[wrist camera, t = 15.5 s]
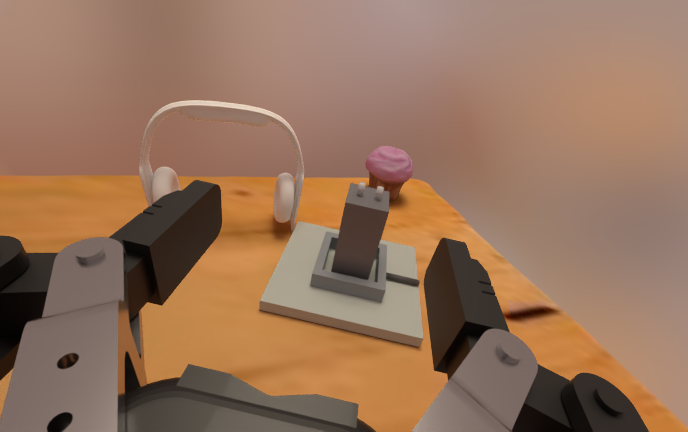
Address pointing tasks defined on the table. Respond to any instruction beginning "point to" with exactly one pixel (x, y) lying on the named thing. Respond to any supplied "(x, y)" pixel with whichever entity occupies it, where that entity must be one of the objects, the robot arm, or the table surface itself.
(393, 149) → the cupcake
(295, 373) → the table surface
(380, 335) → the charging dock
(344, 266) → the charger block
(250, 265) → the table surface
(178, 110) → the headset
